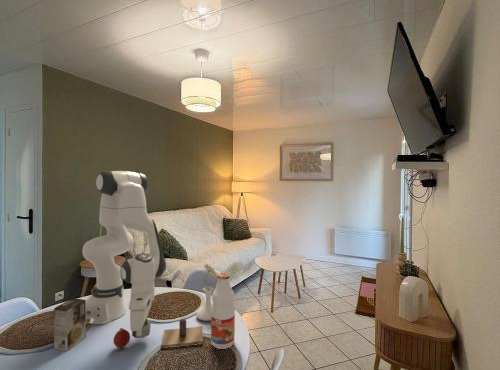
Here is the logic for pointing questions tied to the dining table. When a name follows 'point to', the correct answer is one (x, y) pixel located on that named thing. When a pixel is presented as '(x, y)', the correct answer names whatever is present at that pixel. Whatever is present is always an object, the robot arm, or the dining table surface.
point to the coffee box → (69, 324)
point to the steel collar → (143, 330)
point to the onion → (121, 338)
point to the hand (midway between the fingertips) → (141, 329)
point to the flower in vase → (207, 298)
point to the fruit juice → (223, 313)
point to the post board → (182, 335)
